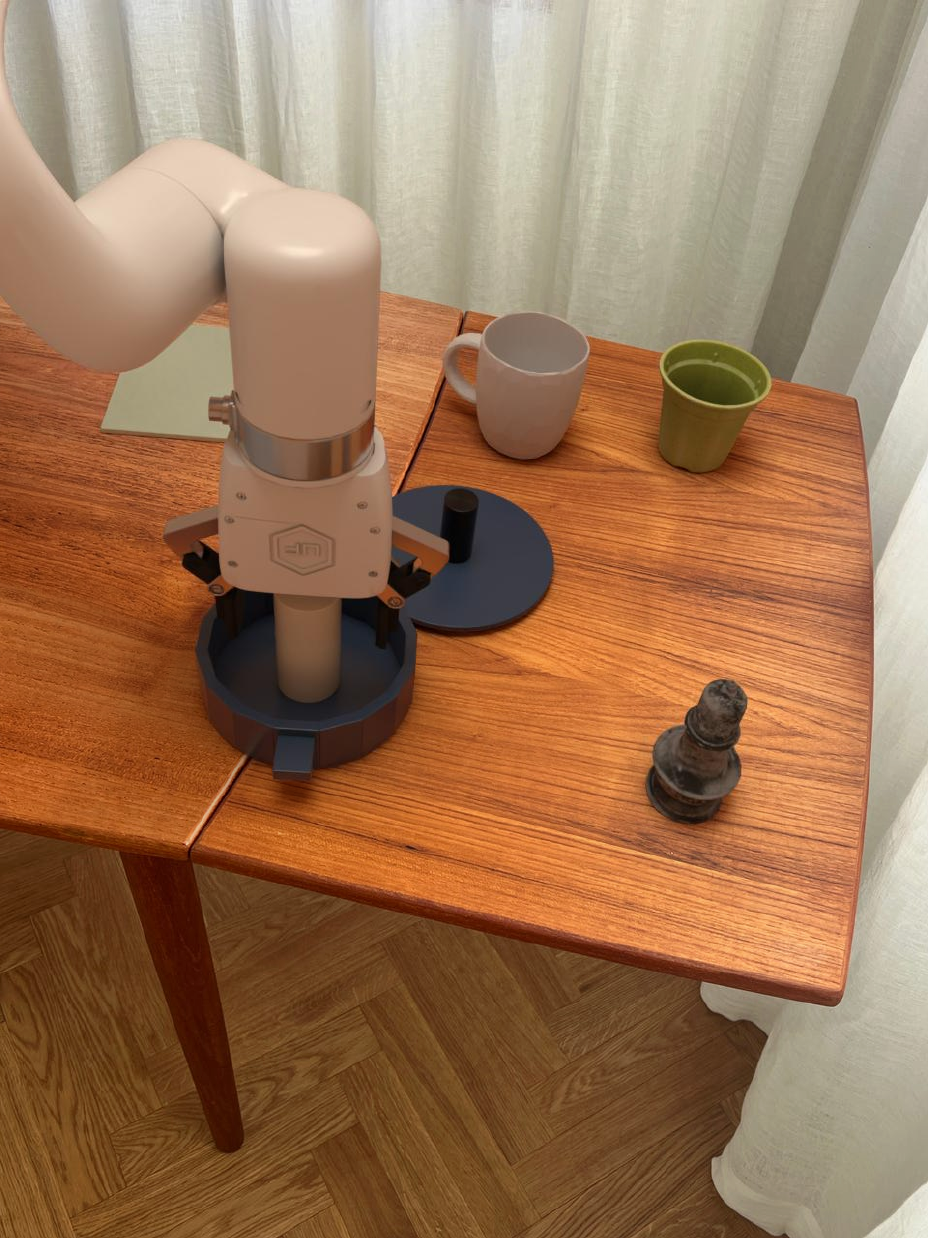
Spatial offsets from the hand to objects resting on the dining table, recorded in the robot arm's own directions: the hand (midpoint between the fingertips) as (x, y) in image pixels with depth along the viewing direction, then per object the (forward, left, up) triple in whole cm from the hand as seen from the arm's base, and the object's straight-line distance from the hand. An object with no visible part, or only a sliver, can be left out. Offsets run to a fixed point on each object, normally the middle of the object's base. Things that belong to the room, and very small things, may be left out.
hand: (309, 627), depth 74 cm
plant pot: (+31, +29, -6) cm, 43 cm away
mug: (+14, +30, -6) cm, 34 cm away
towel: (-10, +33, -6) cm, 35 cm away
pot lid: (+10, +13, -5) cm, 17 cm away
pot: (0, 0, -6) cm, 6 cm away
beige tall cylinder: (0, 0, -6) cm, 6 cm away
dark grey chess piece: (+26, -7, -6) cm, 28 cm away
